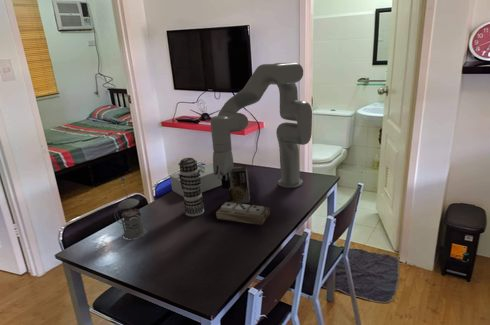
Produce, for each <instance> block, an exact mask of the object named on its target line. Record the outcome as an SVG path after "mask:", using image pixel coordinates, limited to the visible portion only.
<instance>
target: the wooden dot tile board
mask: <svg viewBox="0 0 490 325" xmlns="http://www.w3.org/2000/svg"><path fill="white" fill-rule="evenodd" d="M239 204H240V203H236V205H237V206H238V205H239ZM249 205H250V208H251V207H252V206H253V205H251V204H249ZM263 207H264V211H265V212H264V213H263V214H262V215H261V216H258V215H251V214H249V211H248V213H247V214H243V213H236V212H235V209H234V210H233V212H228V211H221V207H220V208H218V210H217V211H216V212H215V215H216V219H218V220H224V221H232V222H238V223H245V224H252V225H260V226H262V225H263V224H264V223H265V221H266V220H267V219H268V218H269V217H270V214H271V213H270V212H271V210H270V207H267V206H263Z"/></svg>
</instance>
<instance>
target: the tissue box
mask: <svg viewBox="0 0 490 325" xmlns="http://www.w3.org/2000/svg"><path fill="white" fill-rule="evenodd" d="M197 167H198V170H200V174H201V175H200V176H199V177H200V178H201V180H200V181H201V184H200V185H201V188H200V189H201V194H203V193H204V192H207V191H210V190H212V189H213V190H214V189H216V188H218V187H220V186H221V187H222V182H221V179H218V174H217V175H214V171H213V162H212V163H211V162H209V163H207V164H197ZM179 174H180V172H177V173H174V174H171V175H169V179H170V183H171V184H170V185H171V190H172V191H173V192H174V193H176V194H178V195H179V196H181V197H183V198H184V193H183V190H182V189H181V188H182V186H181V182H180V179H179V178H180V176H179ZM180 175H181V174H180ZM222 176H223V175H222Z"/></svg>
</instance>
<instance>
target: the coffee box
mask: <svg viewBox="0 0 490 325" xmlns="http://www.w3.org/2000/svg"><path fill="white" fill-rule="evenodd" d="M248 173H249V172H248V166H247V165H241V166H234V167H233V169H232V171H231V172H230V188H229V189H228V197H229V202H230V203H236V204H249V203H250V199H251V194H250V184H249V174H248Z"/></svg>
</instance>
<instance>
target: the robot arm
mask: <svg viewBox="0 0 490 325" xmlns="http://www.w3.org/2000/svg"><path fill="white" fill-rule="evenodd" d="M303 76H304V69H303V66H302V65H301V63H297V62H277V63H263V64H259V66H257V67H256V68H255V70H254V72H253V73H252V75H251V76H250V77H249V79H248V80H247V82H246V84H245V85H244V87H243V88H242V89H241V90H239V91H238V92H237V93H235V94H234V95H233V96H231V97H230V98H229V99H228V100H227V101H226V102H225V103H224V104H223V105H222V107H221V109H220V110H219V112H218V114H217V115H216V116H213V117H211V118H210V120H209V121H210V129H211V130H210V132H211V133H210V134H211V140H212V149H213V152H212V153H213V154H212V155H213V156H212V164H213V171H214V175H217V174H218V179H221V182H222V185H221V188H222V189H224V190H229V188H230V172H231V171H232V169H233V167H235V166H234V157H233V156H234V155H233V152H232V149H233V148H232V137H231V133H236V132H242V131H244V130H246V128H247V127H248V126H249V119H248V117H247V116H246V115H245V114H244V113H241V112H239V111H240V110H241V109H243V108H246V107H248V106H251V105H255V104H256V103H258V102H259V101H260V100H261V98H262V97H263V96H264V94H265V92H266V91H267V89H268V88H269V86H270V85H276V86H277V89H278V91H279V116H280V118H281V119H282V120H286V121H292V122H282V123H280V124H279V125H278V126H277V128H276V131H275V132H276V133H275V134H276V138H277V141H278V142H277V143H278V147H279V150H278V151H279V166H280V168H279V169H280V179H278V181H277V184H278V185H279V186H280V187H282V188H284V189H294V188H298V187H301V186H302V185H303V184H304V181H303V179H302V178H300V177H301V176H300V174H301V173H300V150H299V146H298V145H303V146H305V145H307V144H309V142H310V141H311V139H312V130H313V129H312V128H313V109H312V106H311V104H310V103H309V102H307V101H304V100H299V97H298V96H299V94H298V93H299V92H298V87H297V84H296V83H299V82H300V81H301V80H302V78H303ZM295 122H296V123H295ZM222 175H223V176H222Z"/></svg>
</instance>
